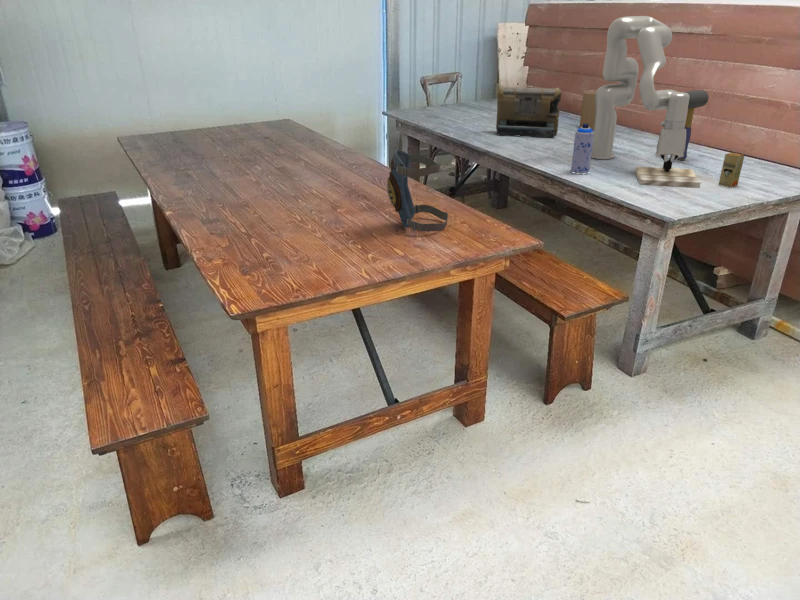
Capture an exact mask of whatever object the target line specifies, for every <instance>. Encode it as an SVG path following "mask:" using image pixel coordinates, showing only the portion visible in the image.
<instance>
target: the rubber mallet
mask: <svg viewBox="0 0 800 600" xmlns="http://www.w3.org/2000/svg"><path fill="white" fill-rule="evenodd" d="M684 93H688V94H689V96H690V98H689V104H688V109H687V115H686V121H685V126H684V129H686V144H685V151H684V156H683V157H679V158H677V160H678V161H679V160H680V161H685V160H686V159H687V158H688V148H689V143H690V139H691V135H692V123H693V117H694V112H695V109H697V108H700V107H701V108H702V107H704V106H706V105H707V104H708V102H709V94H708V92H707V91H706V90H704V89H699V90H697V89H696V90H688V91H684Z"/></svg>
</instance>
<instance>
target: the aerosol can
mask: <svg viewBox="0 0 800 600" xmlns="http://www.w3.org/2000/svg"><path fill="white" fill-rule="evenodd" d="M588 125H589V124H583V127H581V128H580V127H578V128H577V129H576V130H575V133H574V135H575V136H574V143H573V150H572V159H571V161H572V162H571V167H570V168H571V169H570V172H571V171H572V172H575V173H588V172H589V171H590V169H591V160H592V158H591V153H592V146H593V138H594V131H593V130H592V129H591V128H590V127H588Z"/></svg>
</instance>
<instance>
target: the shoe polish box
mask: <svg viewBox="0 0 800 600" xmlns="http://www.w3.org/2000/svg"><path fill="white" fill-rule="evenodd" d="M744 159H745V154H743V153H738V152H737V153H736V152H728V153H725V154H724V159H723V163H722V167H721V172H720V176H719V181H718V185H719V186H722V185H723V186H722V187H726V186H728V187H727V188H730V187H731V188H733V187H732V186H734V187H736V186H735V185H737V186H738V184H739V181H740V176H741V172H742V169H743V168H742V167H743V163H744Z"/></svg>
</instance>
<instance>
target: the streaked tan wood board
mask: <svg viewBox="0 0 800 600" xmlns="http://www.w3.org/2000/svg"><path fill="white" fill-rule="evenodd" d="M637 181H638V184H639V183H640V184H642V185H641V186H656V187H657V186H660V187H661V186H662V187H681V188H682V187H683V188H700V187H701V181H700V180H699V179H698V177H697V176H696V177H683V176H662V175H641V174H638V178H637ZM640 184H639V185H640Z"/></svg>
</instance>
